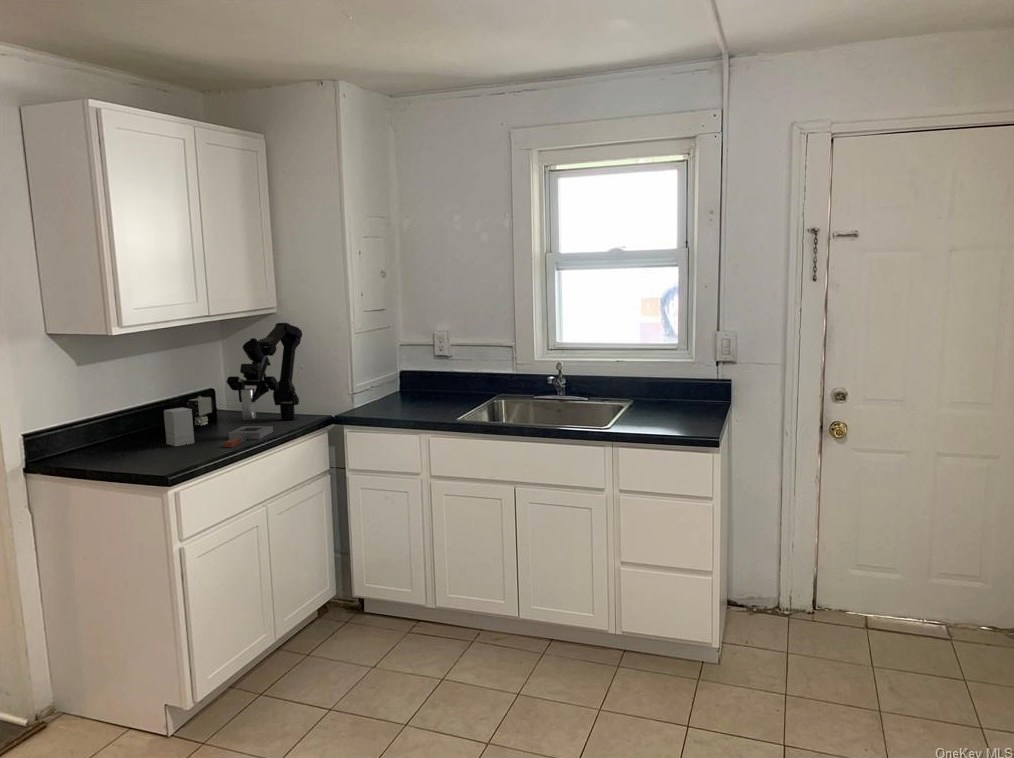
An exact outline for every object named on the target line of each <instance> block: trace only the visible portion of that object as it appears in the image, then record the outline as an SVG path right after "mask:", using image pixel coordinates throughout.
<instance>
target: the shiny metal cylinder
mask: <svg viewBox="0 0 1014 758" xmlns="http://www.w3.org/2000/svg"><path fill="white" fill-rule="evenodd" d="M254 393H255V388H250V387H249V388H245V389H241V401H242V402H241V411H242V420H245V421H246V420H254V419H255V420H256V419H257V409H256V407H257V406H256V401H255V402H253V401H252V399H253V396H254Z"/></svg>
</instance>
